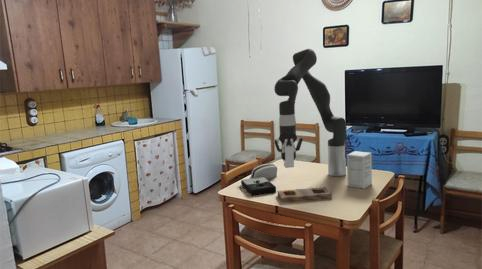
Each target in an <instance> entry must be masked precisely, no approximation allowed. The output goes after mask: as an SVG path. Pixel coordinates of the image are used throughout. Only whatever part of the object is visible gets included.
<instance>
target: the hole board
mask: <svg viewBox="0 0 482 269" xmlns="http://www.w3.org/2000/svg"><path fill="white" fill-rule="evenodd" d="M277 197H278V199H279V202H280V203H281V204H285V203H298V202H299V203H300V202H309V201H323V200H332V199H333V193H332V192H331V191H330V190H329V189H328V188H327V187H326V186H321V187H311V188H309V187H308V188H299V189H297V188H296V189H287V190H286V189H285V190H278V191H277Z"/></svg>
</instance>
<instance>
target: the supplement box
mask: <svg viewBox="0 0 482 269" xmlns="http://www.w3.org/2000/svg"><path fill="white" fill-rule="evenodd" d="M372 157H373V156H372V152H367V151H357V150H354V151H352V152H350V153H347V154H346V176H347V182H346V183H347V186H348V187H353V188H357V189H359V188H360V189H366V188H368V187H369V186H371V185H372V184H373V182H372V181H373V180H372V179H373V171H372V168H373V167H372V164H373V162H372V159H373V158H372Z"/></svg>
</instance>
